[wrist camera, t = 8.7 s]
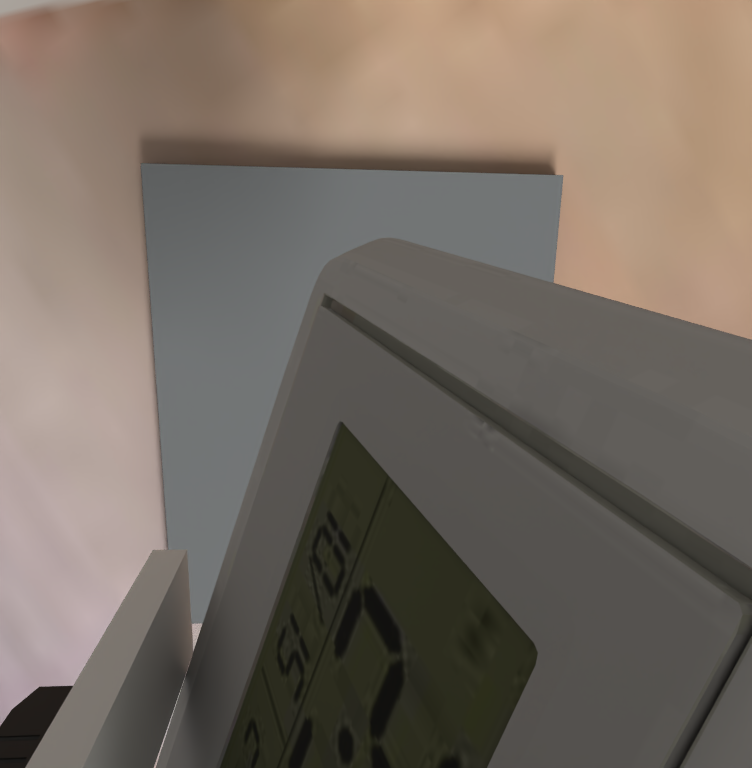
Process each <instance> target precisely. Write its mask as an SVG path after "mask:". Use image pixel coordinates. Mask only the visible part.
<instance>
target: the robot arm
mask: <svg viewBox="0 0 752 768" xmlns="http://www.w3.org/2000/svg"><path fill="white" fill-rule="evenodd" d="M192 655H193V640H192V623H191V606H190V589H189V572H188V556H187V550H153V551H152V553H151V555H150V556H149V558H148V560H147V561H146V563H145V565H144V566H143V568H142V570H141V572H140V573H139V575H138V577H137V578H136V580H135V582H134V583H133V585H132V587H131V589H130V590H129V592H128V594H127V595H126V597H125V599H124V600H123V602H122V604H121V606H120V607H119V609H118V611H117V612H116V614H115V616H114V618H113V619H112V621H111V623H110V624H109V626H108V628H107V629H106V631H105V633H104V635H103V636H102V638H101V640H100V641H99V643H98V645H97V646H96V648H95V650H94V652H93V653H92V655H91V657H90V658H89V660H88V662H87V663H86V665H85V667H84V669H83V670H82V672H81V674H80V675H79V677H78V679H77V680H76V682H75V684H74V686H51V687H39V688H37V689H36V690H35V691H34V692H33V693H31V694H30V695H29V696H28V697H27V698H25V699H24V700H23V701H22V702H21V703H19V704H18V705H17V706H16V707H14V708H13V709H12V710H11V712H10V713H9V715H8V716H7V717H6V719H5V720H4V722H3V723H2V725H1V726H0V768H154V765H155V762H156V759H157V756H158V753H159V750H160V747H161V744H162V742H163V739H164V736H165V733H166V730H167V727H168V724H169V721H170V718H171V716H172V713H173V710H174V707H175V704H176V701H177V698H178V695H179V692H180V690H181V687H182V684H183V681H184V678H185V675H186V672H187V669H188V666H189V664H190V661H191V658H192Z"/></svg>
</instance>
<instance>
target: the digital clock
mask: <svg viewBox="0 0 752 768" xmlns="http://www.w3.org/2000/svg"><path fill="white" fill-rule="evenodd" d="M156 768H752V340H750V339H747V338H743V337H740V336H736V335H733V334H729V333H726V332H722V331H719V330H715V329H712V328H708V327H705V326H702V325H698V324H695V323H691V322H688V321H684V320H681V319H677V318H674V317H670V316H667V315H663V314H660V313H656V312H653V311H649V310H646V309H642V308H639V307H635V306H632V305H628V304H625V303H621V302H618V301H614V300H611V299H607V298H604V297H600V296H597V295H593V294H590V293H586V292H583V291H579V290H576V289H572V288H569V287H565V286H562V285H558V284H555V283H551V282H548V281H544V280H541V279H537V278H534V277H530V276H527V275H523V274H520V273H516V272H513V271H509V270H506V269H503V268H499V267H496V266H492V265H489V264H485V263H482V262H478V261H475V260H471V259H468V258H464V257H461V256H457V255H454V254H450V253H447V252H443V251H440V250H436V249H433V248H429V247H426V246H422V245H419V244H415V243H412V242H408V241H405V240H401V239H395V238H379V239H376V240H374V241H371V242H369V243H366V244H364V245H362V246H359V247H357V248H354V249H352V250H350V251H348V252H346V253H344V254H342V255H340V256H338V257H336V258H334V259H332V260H330V261H329V262H328V263H327V264H326V265H325V266H324V268H323V269H322V271H321V273H320V274H319V276H318V279H317V281H316V283H315V286H314V288H313V291H312V293H311V296H310V299H309V302H308V305H307V308H306V311H305V314H304V317H303V320H302V322H301V325H300V328H299V331H298V334H297V337H296V340H295V343H294V346H293V349H292V352H291V355H290V358H289V361H288V364H287V367H286V370H285V373H284V376H283V379H282V382H281V385H280V388H279V391H278V394H277V397H276V400H275V403H274V406H273V409H272V413H271V416H270V419H269V422H268V425H267V428H266V431H265V434H264V437H263V440H262V443H261V446H260V449H259V452H258V455H257V459H256V462H255V465H254V468H253V471H252V474H251V477H250V480H249V483H248V486H247V489H246V492H245V495H244V498H243V502H242V505H241V508H240V511H239V514H238V517H237V520H236V523H235V526H234V529H233V532H232V535H231V538H230V541H229V545H228V548H227V551H226V554H225V557H224V560H223V563H222V566H221V569H220V572H219V575H218V578H217V581H216V584H215V587H214V591H213V594H212V597H211V600H210V603H209V606H208V609H207V612H206V615H205V618H204V621H203V624H202V627H201V630H200V634H199V637H198V640H197V643H196V646H195V649H194V652H193V655H192V658H191V661H190V664H189V667H188V670H187V673H186V676H185V680H184V683H183V686H182V689H181V692H180V695H179V698H178V701H177V704H176V707H175V710H174V713H173V716H172V719H171V723H170V726H169V729H168V732H167V735H166V738H165V741H164V744H163V747H162V750H161V753H160V756H159V759H158V763H157V766H156Z"/></svg>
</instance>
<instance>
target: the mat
mask: <svg viewBox="0 0 752 768" xmlns="http://www.w3.org/2000/svg"><path fill="white" fill-rule="evenodd" d="M141 175H142V189H143V203H144V217H145V232H146V246H147V260H148V274H149V288H150V302H151V316H152V330H153V344H154V358H155V372H156V386H157V400H158V414H159V428H160V442H161V456H162V470H163V484H164V498H165V512H166V526H167V540H168V550H187V556H188V572H189V589H190V606H191V623H192V624H194V623H203V621H204V618H205V615H206V612H207V609H208V606H209V603H210V600H211V597H212V594H213V591H214V587H215V584H216V581H217V578H218V575H219V572H220V569H221V566H222V563H223V560H224V557H225V554H226V551H227V548H228V545H229V541H230V538H231V535H232V532H233V529H234V526H235V523H236V520H237V517H238V514H239V511H240V508H241V505H242V502H243V498H244V495H245V492H246V489H247V486H248V483H249V480H250V477H251V474H252V471H253V468H254V465H255V462H256V459H257V455H258V452H259V449H260V446H261V443H262V440H263V437H264V434H265V431H266V428H267V425H268V422H269V419H270V416H271V413H272V409H273V406H274V403H275V400H276V397H277V394H278V391H279V388H280V385H281V382H282V379H283V376H284V373H285V370H286V367H287V364H288V361H289V358H290V355H291V352H292V349H293V346H294V343H295V340H296V337H297V334H298V331H299V328H300V325H301V322H302V320H303V317H304V314H305V311H306V308H307V305H308V302H309V299H310V296H311V293H312V291H313V288H314V286H315V283H316V281H317V279H318V276H319V274H320V273H321V271H322V269H323V268H324V266H325V265H326V264H327V263H328V262H329V261H330V260H332V259H334V258H336V257H338V256H340V255H342V254H344V253H346V252H348V251H350V250H352V249H354V248H357V247H359V246H362V245H364V244H366V243H369V242H371V241H374V240H376V239H379V238H395V239H401V240H405V241H408V242H412V243H415V244H419V245H422V246H426V247H429V248H433V249H436V250H440V251H443V252H447V253H450V254H454V255H457V256H461V257H464V258H468V259H471V260H475V261H478V262H482V263H485V264H489V265H492V266H496V267H499V268H503V269H506V270H509V271H513V272H516V273H520V274H523V275H527V276H530V277H534V278H537V279H541V280H544V281H548V282H551V283H553V282H554V271H555V260H556V249H557V238H558V227H559V217H560V206H561V195H562V184H563V175H535V174H500V173H465V172H430V171H395V170H360V169H325V168H290V167H255V166H220V165H185V164H149V163H141Z"/></svg>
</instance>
